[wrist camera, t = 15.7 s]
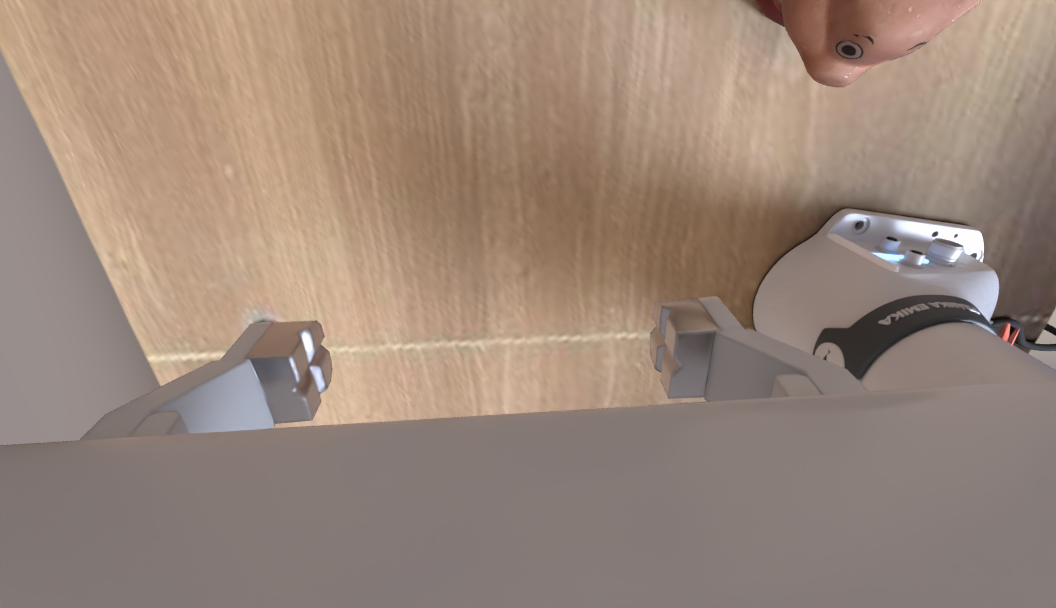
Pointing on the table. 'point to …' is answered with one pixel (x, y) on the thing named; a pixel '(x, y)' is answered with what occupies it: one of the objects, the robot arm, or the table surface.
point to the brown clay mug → (860, 31)
